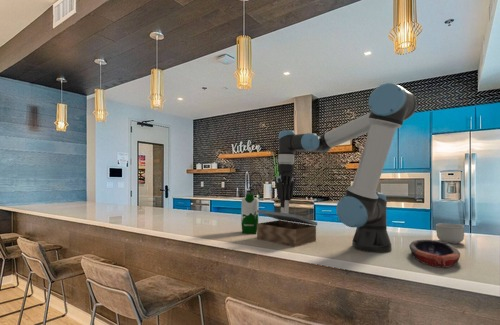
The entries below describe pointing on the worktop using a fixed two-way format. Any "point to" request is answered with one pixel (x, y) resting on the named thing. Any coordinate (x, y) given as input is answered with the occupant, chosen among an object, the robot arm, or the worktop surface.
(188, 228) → the worktop surface
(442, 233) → the teacup
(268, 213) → the lid
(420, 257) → the dish
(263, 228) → the walnut box
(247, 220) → the milk carton
